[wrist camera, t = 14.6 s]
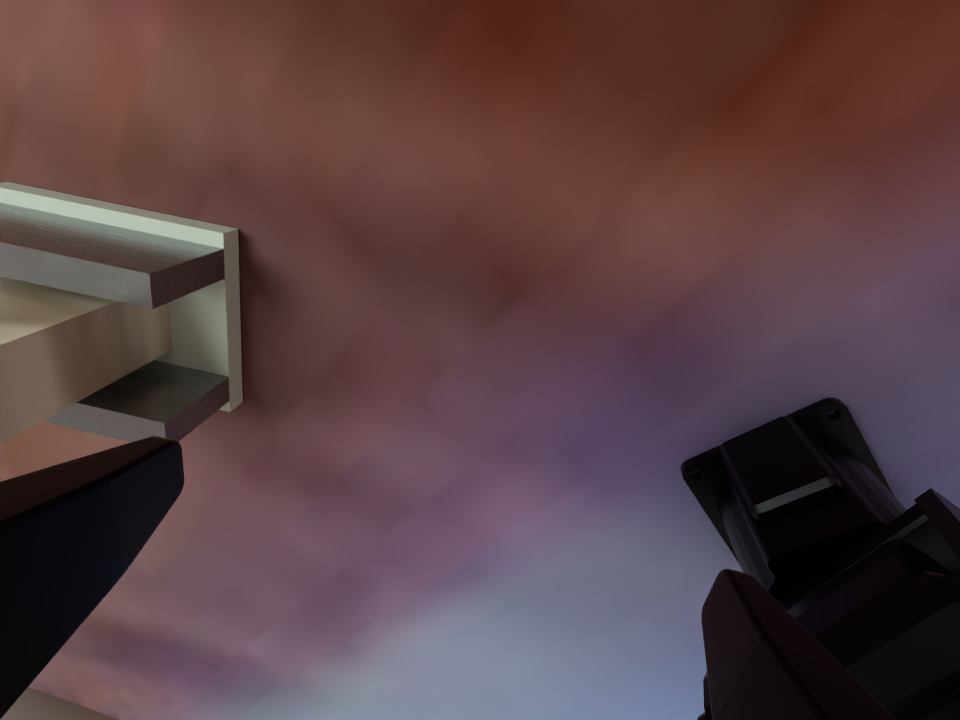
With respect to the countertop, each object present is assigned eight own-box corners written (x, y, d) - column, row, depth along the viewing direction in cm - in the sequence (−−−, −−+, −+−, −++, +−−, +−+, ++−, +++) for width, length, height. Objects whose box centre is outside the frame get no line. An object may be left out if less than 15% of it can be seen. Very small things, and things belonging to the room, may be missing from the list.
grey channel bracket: (238, 229, 21) (147, 255, 16) (242, 401, 24) (168, 463, 20) (8, 182, 22) (-140, 194, 17) (43, 356, 25) (-73, 406, 20)
